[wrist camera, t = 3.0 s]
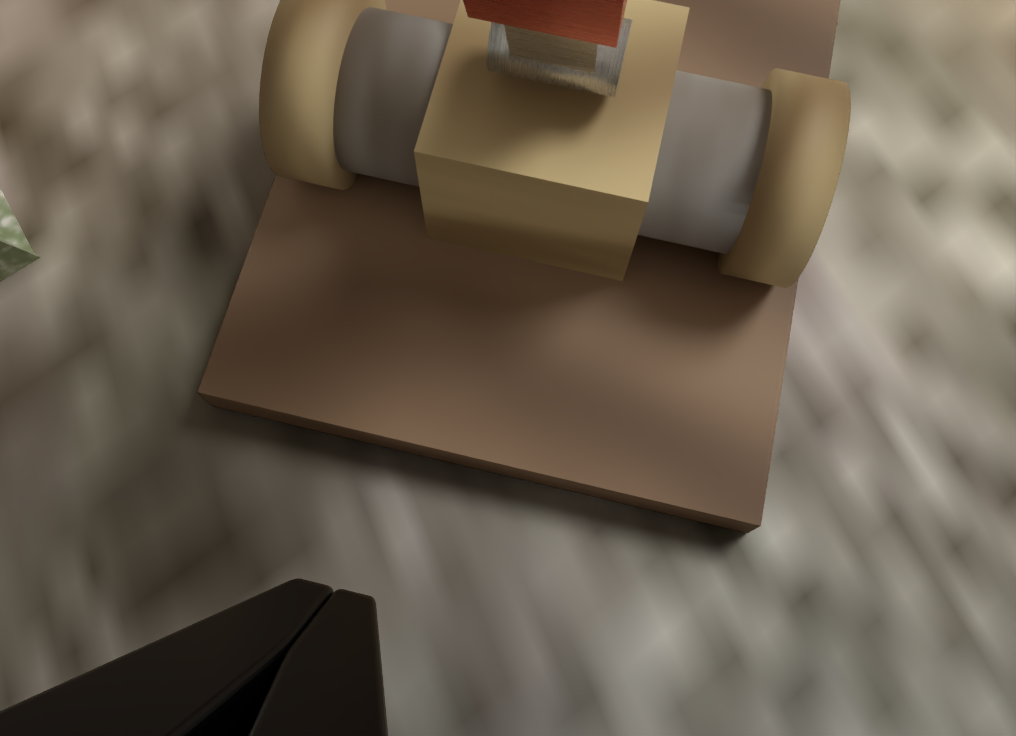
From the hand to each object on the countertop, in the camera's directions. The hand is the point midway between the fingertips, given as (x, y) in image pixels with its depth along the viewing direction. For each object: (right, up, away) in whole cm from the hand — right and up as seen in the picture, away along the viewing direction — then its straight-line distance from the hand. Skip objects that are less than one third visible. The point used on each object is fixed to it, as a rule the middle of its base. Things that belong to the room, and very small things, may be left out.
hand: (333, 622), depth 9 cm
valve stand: (+3, +7, +17) cm, 19 cm away
